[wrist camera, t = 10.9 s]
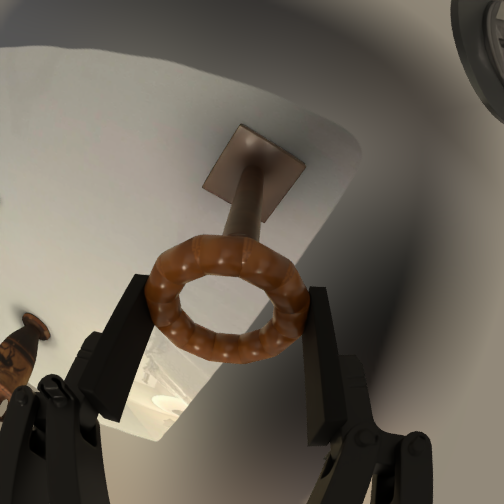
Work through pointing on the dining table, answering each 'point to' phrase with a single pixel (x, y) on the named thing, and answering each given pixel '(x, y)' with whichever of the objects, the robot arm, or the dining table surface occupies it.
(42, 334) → the vase
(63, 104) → the dining table surface
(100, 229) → the dining table surface
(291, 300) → the bracelet
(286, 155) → the peg stand
